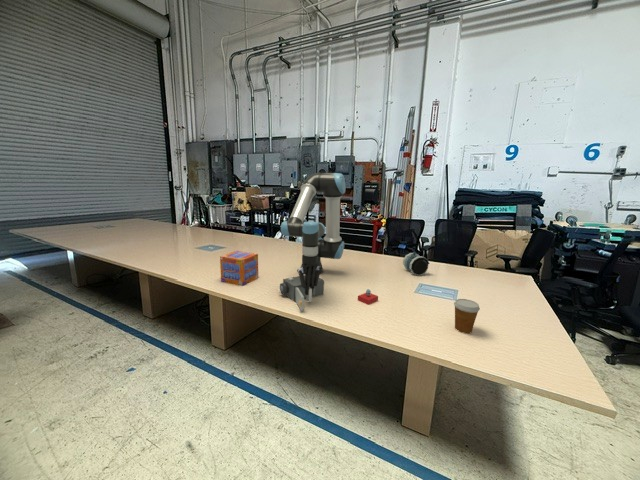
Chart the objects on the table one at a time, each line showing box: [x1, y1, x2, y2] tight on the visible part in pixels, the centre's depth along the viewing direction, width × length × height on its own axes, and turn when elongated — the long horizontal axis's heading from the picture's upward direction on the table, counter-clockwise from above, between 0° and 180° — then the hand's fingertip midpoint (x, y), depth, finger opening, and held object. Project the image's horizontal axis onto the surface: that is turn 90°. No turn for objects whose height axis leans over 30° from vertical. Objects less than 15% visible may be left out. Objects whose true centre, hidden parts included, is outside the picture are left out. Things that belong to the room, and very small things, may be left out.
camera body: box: [279, 274, 325, 302], centre depth 148 cm, size 21×12×9 cm, turn 124°
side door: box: [294, 287, 305, 312], centre depth 133 cm, size 13×2×7 cm, turn 18°
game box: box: [219, 250, 259, 287], centre depth 166 cm, size 16×16×16 cm
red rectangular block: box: [357, 289, 379, 305], centre depth 143 cm, size 8×7×6 cm
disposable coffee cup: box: [453, 298, 481, 334], centre depth 116 cm, size 10×10×12 cm
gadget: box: [402, 251, 430, 276], centre depth 190 cm, size 14×13×15 cm
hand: (308, 300), depth 138 cm, fingers closed
